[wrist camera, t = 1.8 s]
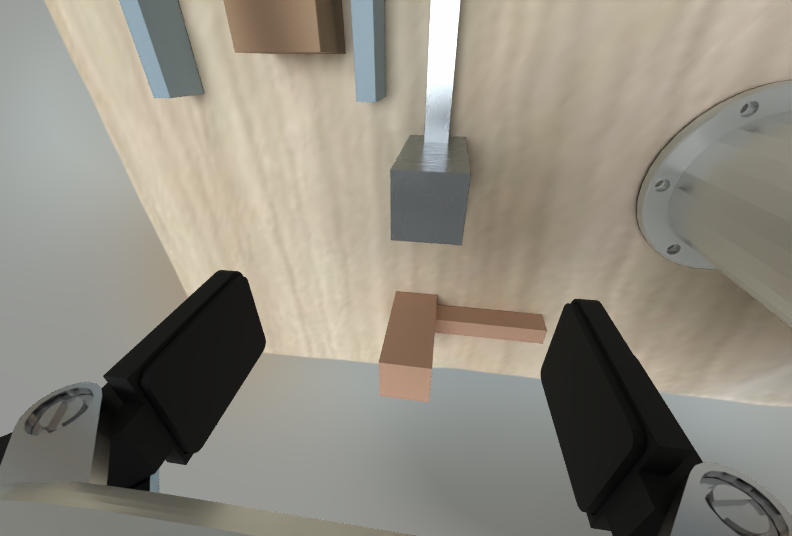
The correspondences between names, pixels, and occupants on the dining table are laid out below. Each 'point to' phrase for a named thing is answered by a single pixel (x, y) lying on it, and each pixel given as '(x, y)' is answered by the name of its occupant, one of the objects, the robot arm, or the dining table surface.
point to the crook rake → (433, 150)
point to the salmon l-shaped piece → (414, 338)
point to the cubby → (176, 69)
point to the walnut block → (286, 26)
